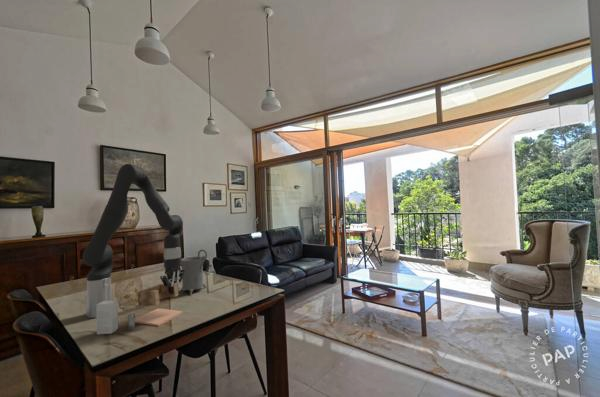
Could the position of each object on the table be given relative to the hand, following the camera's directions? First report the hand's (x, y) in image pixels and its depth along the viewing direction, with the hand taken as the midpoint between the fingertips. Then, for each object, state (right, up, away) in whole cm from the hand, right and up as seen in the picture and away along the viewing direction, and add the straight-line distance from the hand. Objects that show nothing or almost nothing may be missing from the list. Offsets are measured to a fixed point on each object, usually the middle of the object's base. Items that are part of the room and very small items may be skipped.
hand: (173, 293), depth 125 cm
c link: (-5, -2, -4) cm, 7 cm away
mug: (-3, -11, +33) cm, 35 cm away
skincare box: (-19, -10, -17) cm, 27 cm away
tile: (-5, -10, -5) cm, 12 cm away
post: (-10, -9, -16) cm, 21 cm away
